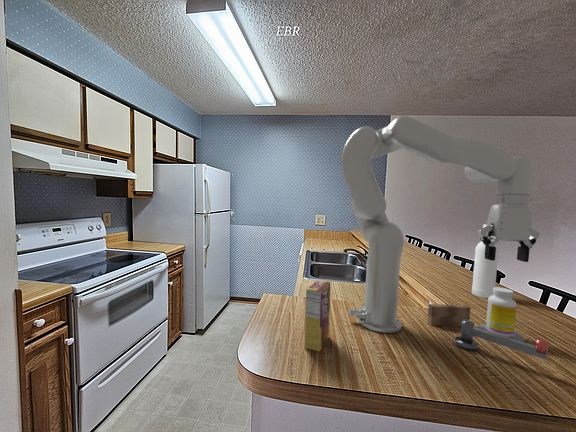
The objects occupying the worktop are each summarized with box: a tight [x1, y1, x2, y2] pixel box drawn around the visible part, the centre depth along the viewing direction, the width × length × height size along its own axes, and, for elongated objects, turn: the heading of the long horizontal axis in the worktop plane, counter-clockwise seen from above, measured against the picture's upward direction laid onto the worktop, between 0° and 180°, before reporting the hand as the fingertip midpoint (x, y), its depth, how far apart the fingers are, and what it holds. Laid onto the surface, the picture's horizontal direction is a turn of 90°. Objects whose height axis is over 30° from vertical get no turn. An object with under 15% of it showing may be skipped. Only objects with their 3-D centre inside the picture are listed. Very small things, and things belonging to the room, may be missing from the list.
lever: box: [454, 319, 550, 360], centre depth 69 cm, size 18×5×7 cm, turn 43°
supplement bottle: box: [485, 286, 517, 337], centre depth 81 cm, size 7×7×13 cm
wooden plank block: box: [427, 303, 471, 327], centre depth 86 cm, size 12×2×6 cm, turn 92°
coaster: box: [477, 323, 526, 343], centre depth 81 cm, size 11×11×1 cm
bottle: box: [471, 223, 499, 299], centre depth 116 cm, size 8×8×30 cm
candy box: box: [304, 280, 331, 353], centre depth 72 cm, size 9×4×15 cm, turn 156°
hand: (506, 260), depth 80 cm, fingers open, 9 cm apart
